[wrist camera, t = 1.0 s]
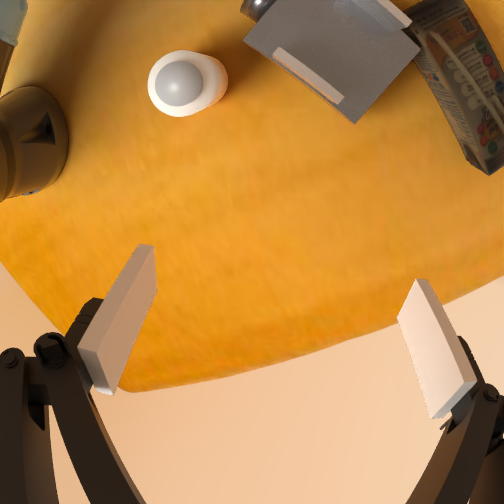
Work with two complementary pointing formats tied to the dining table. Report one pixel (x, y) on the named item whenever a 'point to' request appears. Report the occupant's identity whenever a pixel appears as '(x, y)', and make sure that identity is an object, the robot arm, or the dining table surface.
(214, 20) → the dining table surface
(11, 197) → the robot arm
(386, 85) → the motor
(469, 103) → the beverage carton
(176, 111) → the white cylindrical container
